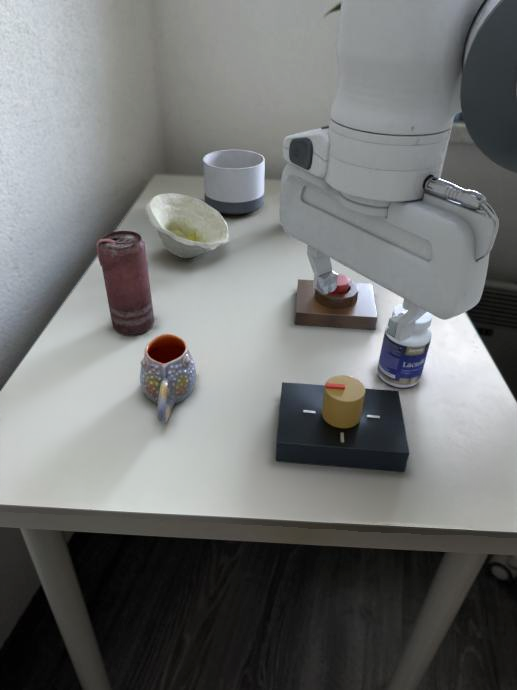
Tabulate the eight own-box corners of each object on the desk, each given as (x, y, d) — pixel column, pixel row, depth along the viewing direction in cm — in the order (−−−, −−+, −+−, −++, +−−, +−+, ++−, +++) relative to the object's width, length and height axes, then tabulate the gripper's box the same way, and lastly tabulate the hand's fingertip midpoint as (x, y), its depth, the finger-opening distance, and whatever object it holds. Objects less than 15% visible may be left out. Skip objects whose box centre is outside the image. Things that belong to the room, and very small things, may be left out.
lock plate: (394, 408, 66) (398, 389, 64) (404, 472, 58) (409, 452, 56) (281, 400, 66) (282, 380, 65) (275, 461, 58) (276, 441, 57)
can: (107, 319, 80) (91, 233, 72) (148, 310, 83) (138, 226, 74) (115, 341, 76) (99, 252, 68) (159, 331, 78) (148, 244, 70)
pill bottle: (403, 395, 68) (418, 331, 62) (367, 373, 71) (379, 310, 65) (429, 376, 71) (446, 313, 65) (394, 356, 74) (407, 295, 68)
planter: (274, 204, 118) (276, 156, 112) (242, 224, 109) (242, 173, 103) (227, 192, 123) (226, 146, 117) (193, 210, 115) (190, 161, 108)
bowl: (207, 279, 91) (204, 224, 85) (136, 264, 95) (129, 210, 89) (242, 244, 102) (241, 193, 96) (177, 231, 106) (173, 181, 100)
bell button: (347, 284, 83) (349, 274, 82) (348, 296, 80) (350, 286, 79) (324, 282, 83) (325, 272, 82) (324, 294, 80) (325, 284, 79)
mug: (147, 371, 71) (141, 330, 67) (199, 371, 71) (196, 330, 67) (130, 437, 61) (122, 394, 57) (190, 438, 61) (186, 394, 57)
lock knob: (359, 403, 62) (364, 374, 59) (361, 430, 58) (367, 401, 56) (321, 400, 62) (324, 371, 60) (321, 426, 59) (325, 397, 56)
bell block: (370, 295, 87) (373, 273, 85) (375, 329, 79) (379, 307, 77) (297, 290, 88) (298, 269, 86) (294, 324, 80) (296, 301, 78)
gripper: (532, 192, 36) (477, 355, 44) (324, 124, 49) (312, 260, 57) (476, 213, 33) (428, 385, 41) (270, 134, 45) (265, 277, 54)
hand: (359, 311), depth 49 cm, fingers open, 8 cm apart
